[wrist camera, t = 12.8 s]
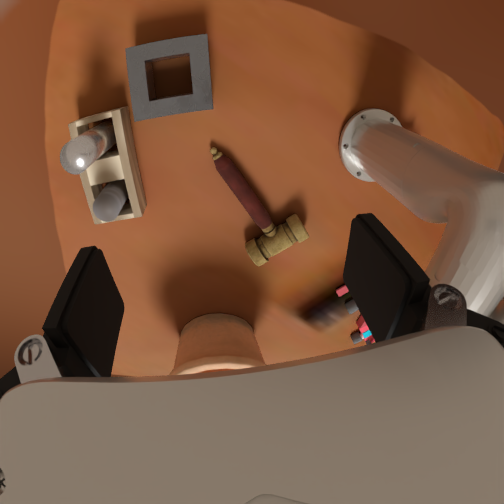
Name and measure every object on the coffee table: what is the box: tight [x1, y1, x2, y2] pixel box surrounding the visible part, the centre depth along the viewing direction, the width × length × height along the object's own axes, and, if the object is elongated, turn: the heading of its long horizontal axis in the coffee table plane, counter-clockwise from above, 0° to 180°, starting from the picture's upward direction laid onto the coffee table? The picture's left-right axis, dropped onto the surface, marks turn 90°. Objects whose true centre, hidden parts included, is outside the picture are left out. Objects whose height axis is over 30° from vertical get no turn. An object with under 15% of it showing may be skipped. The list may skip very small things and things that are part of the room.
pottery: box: [169, 313, 266, 375], centre depth 58 cm, size 22×22×14 cm
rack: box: [68, 106, 147, 224], centre depth 36 cm, size 8×16×7 cm, turn 3°
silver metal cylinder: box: [60, 121, 116, 174], centre depth 31 cm, size 4×4×12 cm
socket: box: [126, 34, 213, 122], centre depth 31 cm, size 10×10×5 cm
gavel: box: [210, 147, 309, 266], centre depth 44 cm, size 21×5×10 cm
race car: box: [336, 285, 375, 345], centre depth 64 cm, size 14×6×25 cm
